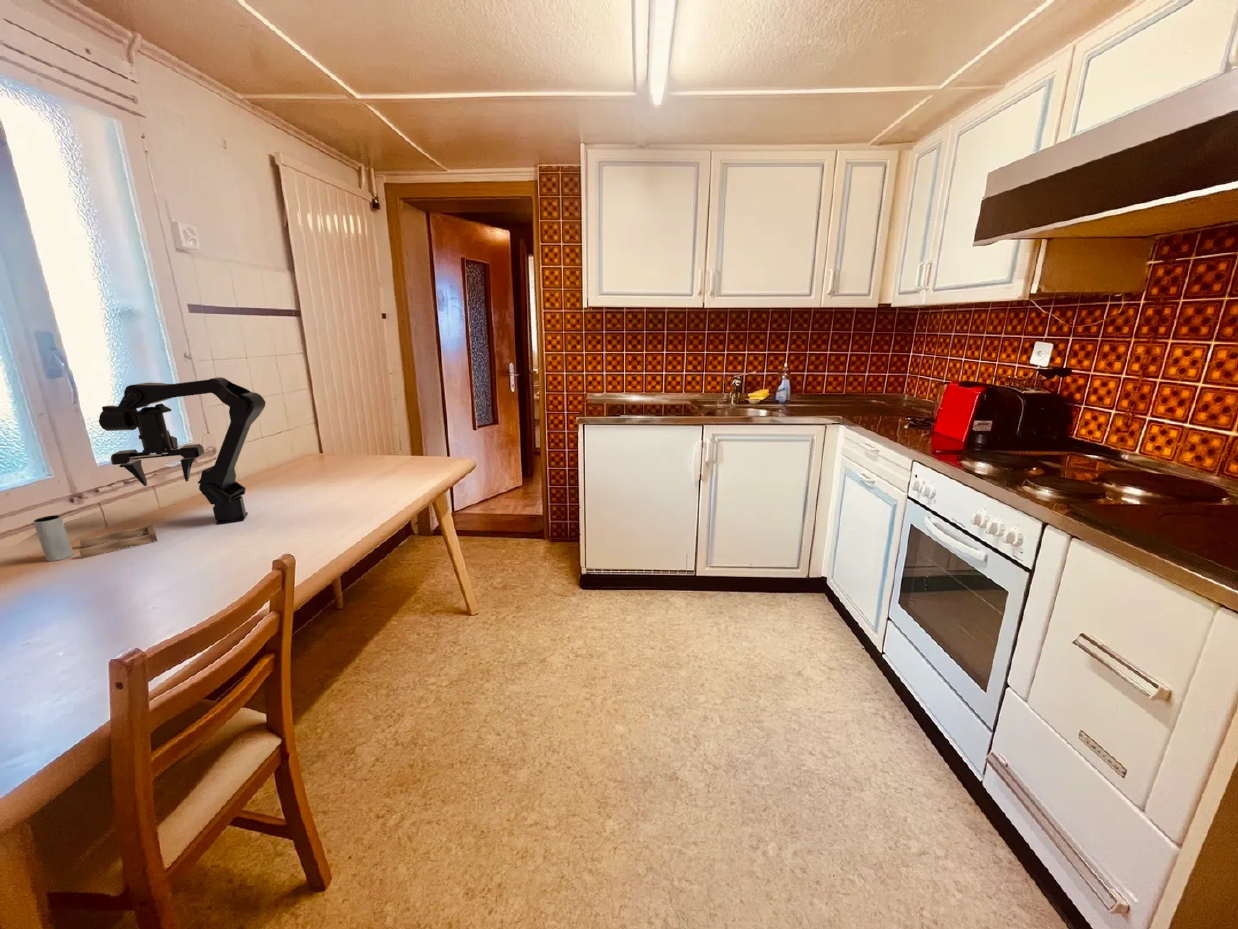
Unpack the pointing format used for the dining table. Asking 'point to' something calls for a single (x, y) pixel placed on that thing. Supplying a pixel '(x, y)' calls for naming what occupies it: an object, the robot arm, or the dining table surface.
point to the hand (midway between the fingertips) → (166, 483)
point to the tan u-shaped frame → (118, 544)
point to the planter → (53, 537)
